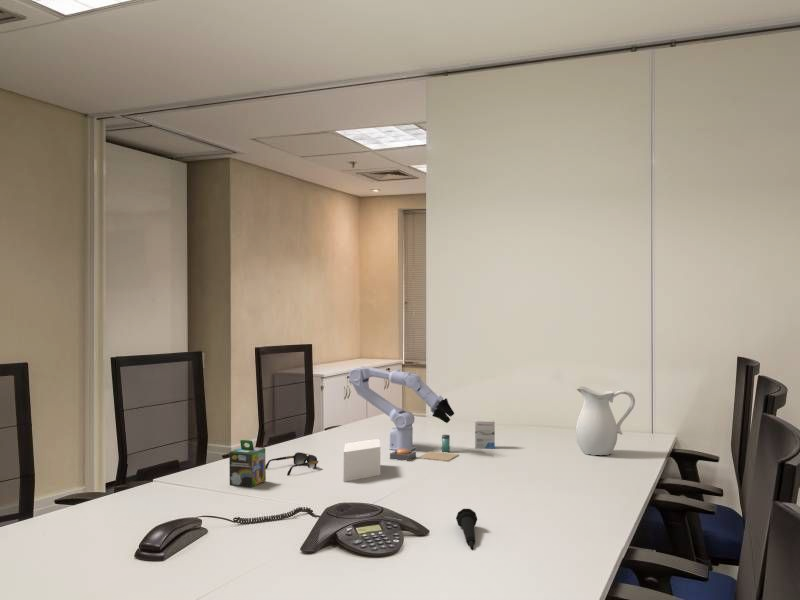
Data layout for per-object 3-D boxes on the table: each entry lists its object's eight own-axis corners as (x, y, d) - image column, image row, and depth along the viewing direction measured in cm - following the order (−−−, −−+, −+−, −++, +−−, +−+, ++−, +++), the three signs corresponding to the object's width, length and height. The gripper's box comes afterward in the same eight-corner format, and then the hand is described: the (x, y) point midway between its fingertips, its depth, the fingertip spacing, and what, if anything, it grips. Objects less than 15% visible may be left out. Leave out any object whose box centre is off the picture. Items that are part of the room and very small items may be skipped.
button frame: (389, 459, 271) (389, 453, 271) (398, 455, 278) (398, 450, 278) (408, 460, 267) (408, 455, 268) (415, 457, 275) (415, 451, 275)
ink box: (494, 446, 299) (494, 420, 299) (494, 448, 294) (494, 421, 294) (474, 446, 300) (475, 419, 300) (475, 448, 295) (475, 421, 295)
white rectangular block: (396, 467, 257) (396, 440, 257) (362, 484, 230) (362, 454, 231) (362, 463, 263) (362, 437, 263) (325, 479, 236) (325, 450, 236)
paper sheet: (417, 458, 273) (417, 457, 273) (429, 452, 285) (429, 451, 285) (448, 461, 267) (448, 460, 267) (458, 455, 279) (458, 454, 279)
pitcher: (573, 455, 281) (573, 388, 282) (578, 448, 297) (578, 385, 298) (633, 460, 272) (633, 391, 273) (635, 453, 288) (635, 387, 289)
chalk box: (266, 481, 233) (266, 438, 233) (252, 487, 224) (252, 442, 224) (243, 479, 236) (243, 436, 236) (228, 485, 227) (228, 441, 227)
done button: (394, 455, 272) (394, 450, 272) (399, 453, 276) (399, 448, 276) (406, 456, 269) (406, 451, 270) (411, 454, 274) (411, 449, 274)
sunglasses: (264, 470, 251) (264, 456, 251) (296, 464, 262) (297, 451, 262) (287, 476, 241) (287, 462, 241) (320, 469, 252) (320, 456, 252)
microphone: (478, 562, 167) (471, 526, 187) (486, 541, 166) (478, 507, 186) (457, 555, 167) (453, 520, 187) (465, 534, 166) (459, 501, 186)
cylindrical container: (440, 452, 286) (440, 435, 286) (443, 450, 289) (443, 434, 289) (447, 452, 284) (448, 436, 284) (450, 451, 287) (450, 435, 287)
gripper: (437, 383, 284) (460, 406, 280) (431, 396, 296) (453, 418, 293) (426, 393, 281) (449, 416, 277) (419, 406, 293) (442, 428, 289)
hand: (450, 418), depth 285 cm, fingers open, 7 cm apart
